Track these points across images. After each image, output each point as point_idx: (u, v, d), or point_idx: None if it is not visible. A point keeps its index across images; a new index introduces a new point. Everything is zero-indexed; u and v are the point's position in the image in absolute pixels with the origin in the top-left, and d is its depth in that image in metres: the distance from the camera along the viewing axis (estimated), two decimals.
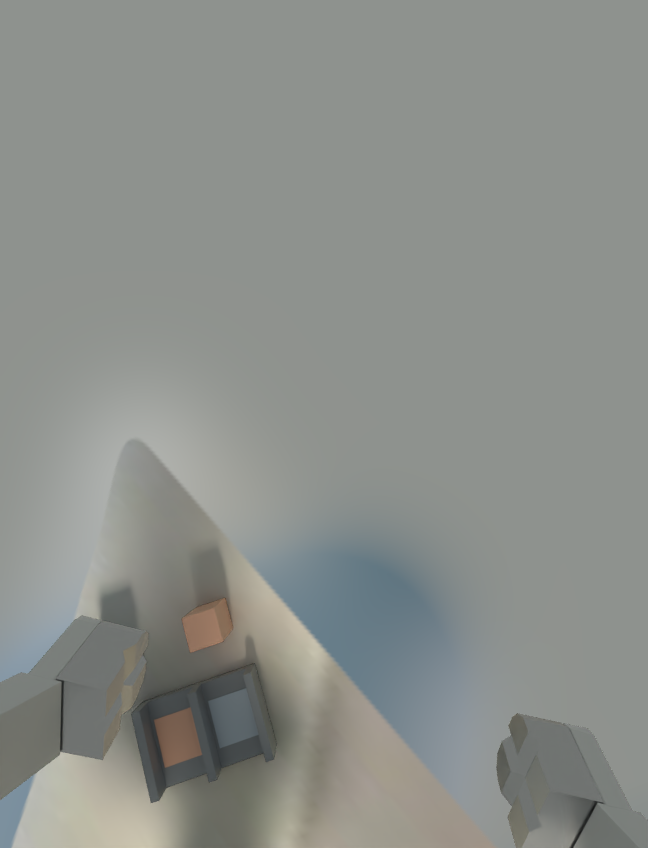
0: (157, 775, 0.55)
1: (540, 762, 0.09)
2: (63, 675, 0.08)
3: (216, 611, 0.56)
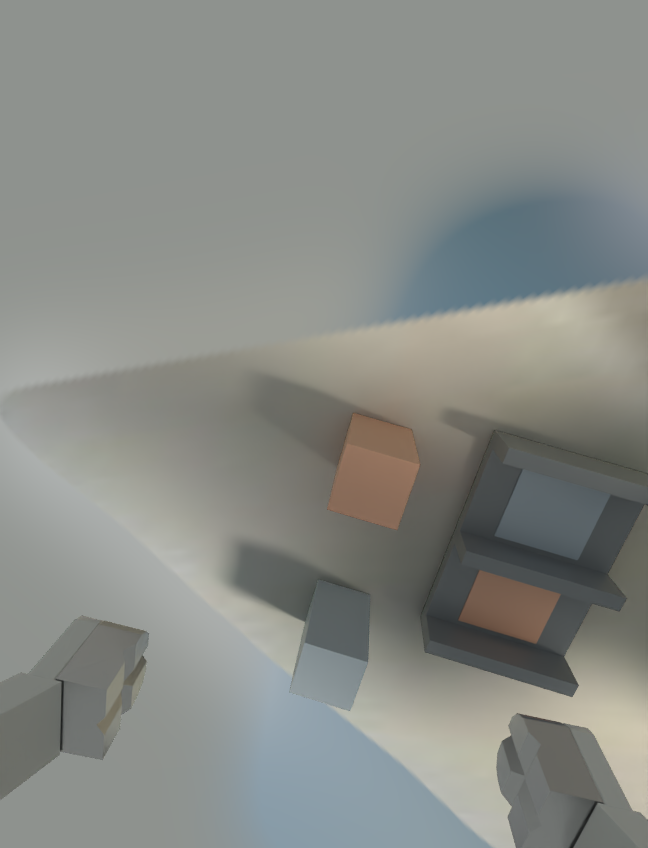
0: (540, 664, 0.31)
1: (540, 761, 0.09)
2: (63, 675, 0.08)
3: (357, 443, 0.25)
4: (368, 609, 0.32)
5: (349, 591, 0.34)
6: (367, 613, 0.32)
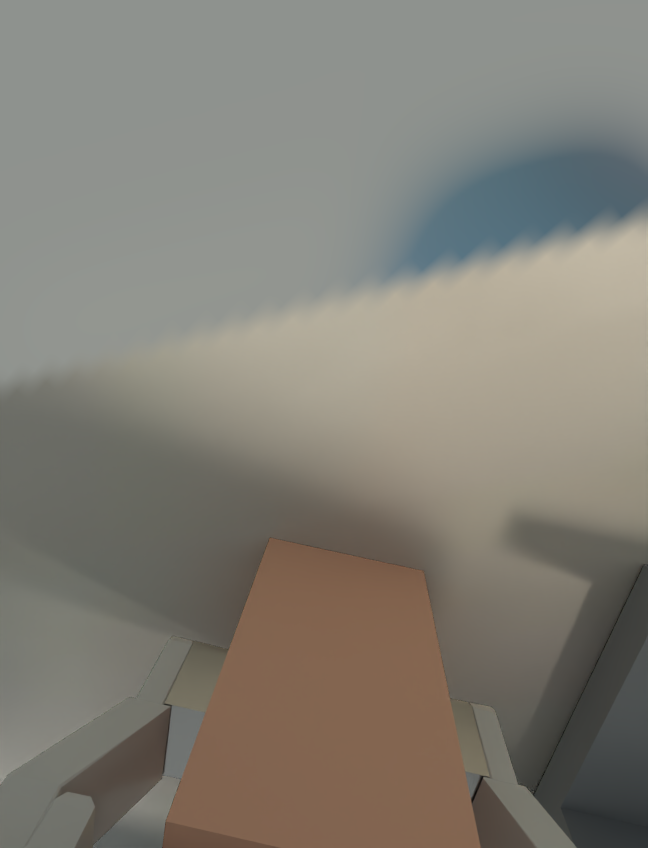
0: None
1: None
2: (171, 699, 0.08)
3: (221, 790, 0.06)
4: None
5: None
6: None
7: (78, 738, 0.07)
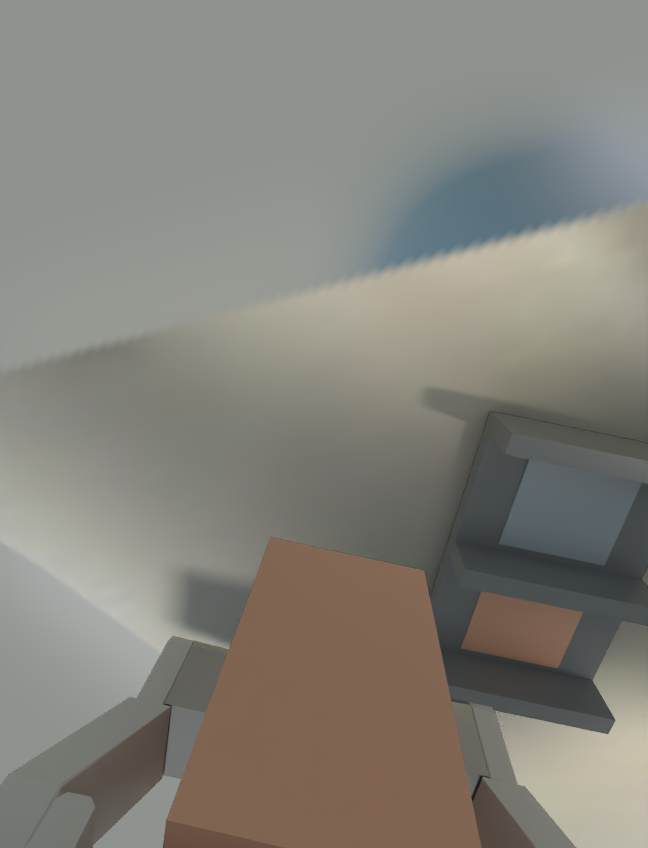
0: (565, 696, 0.25)
1: None
2: (171, 699, 0.08)
3: (222, 789, 0.06)
4: None
5: None
6: None
7: (78, 738, 0.07)
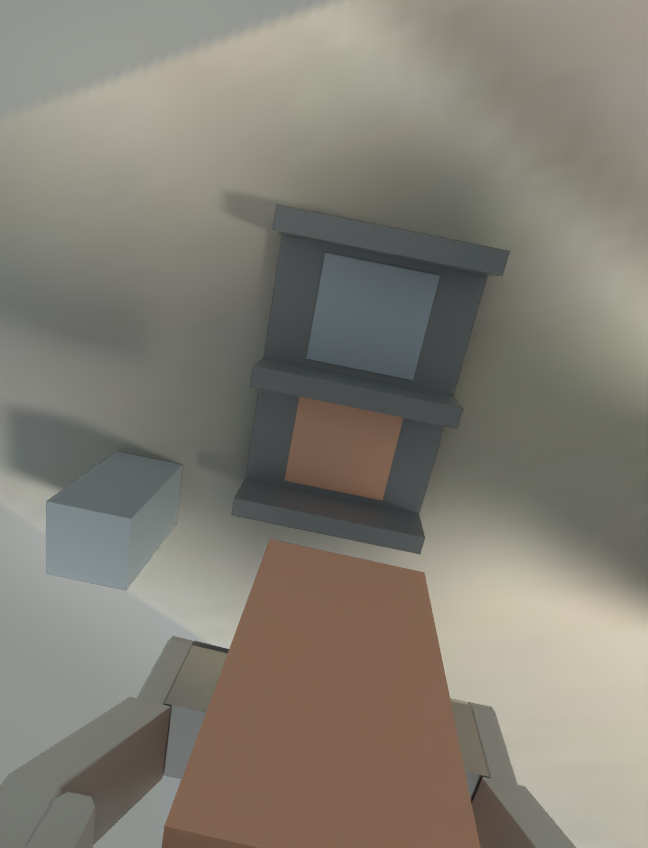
0: (381, 519, 0.24)
1: None
2: (170, 699, 0.08)
3: (221, 795, 0.06)
4: (170, 476, 0.26)
5: (154, 461, 0.27)
6: (165, 479, 0.25)
7: (78, 738, 0.07)
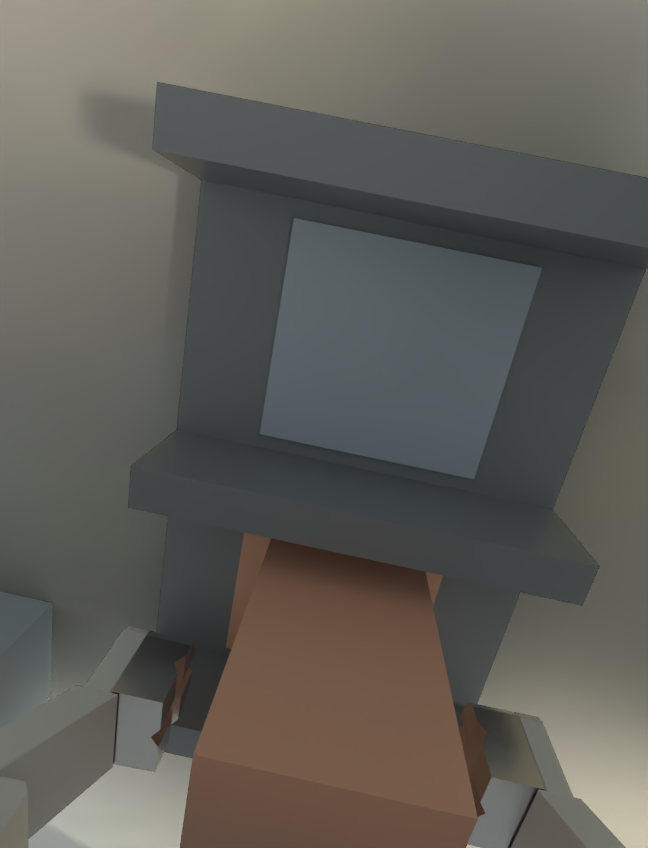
0: None
1: (485, 749, 0.09)
2: (118, 687, 0.08)
3: (241, 731, 0.07)
4: (14, 639, 0.14)
5: (1, 598, 0.15)
6: (0, 650, 0.13)
7: (19, 724, 0.07)
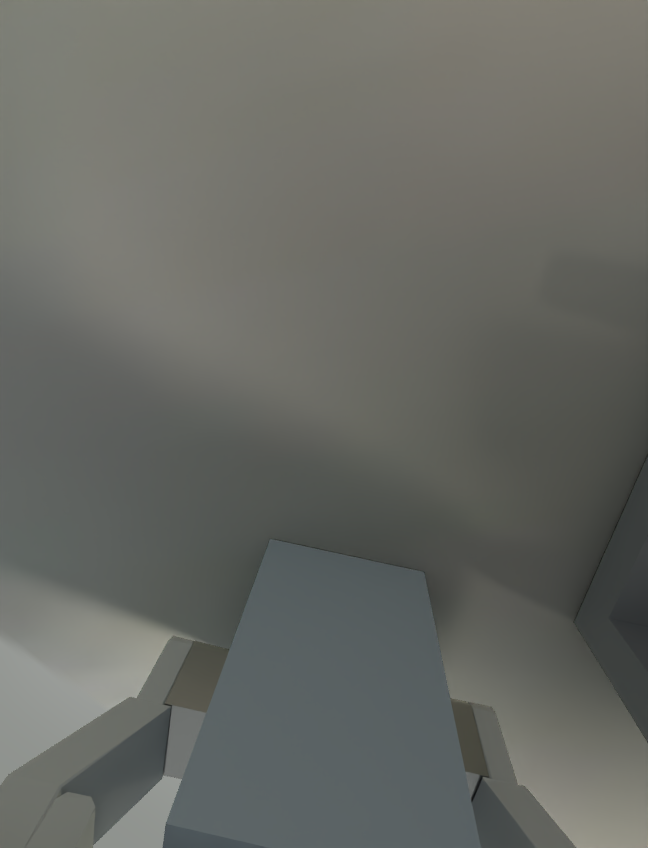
0: None
1: None
2: (170, 699, 0.08)
3: None
4: (429, 617, 0.10)
5: (363, 565, 0.11)
6: (429, 631, 0.10)
7: (78, 738, 0.07)
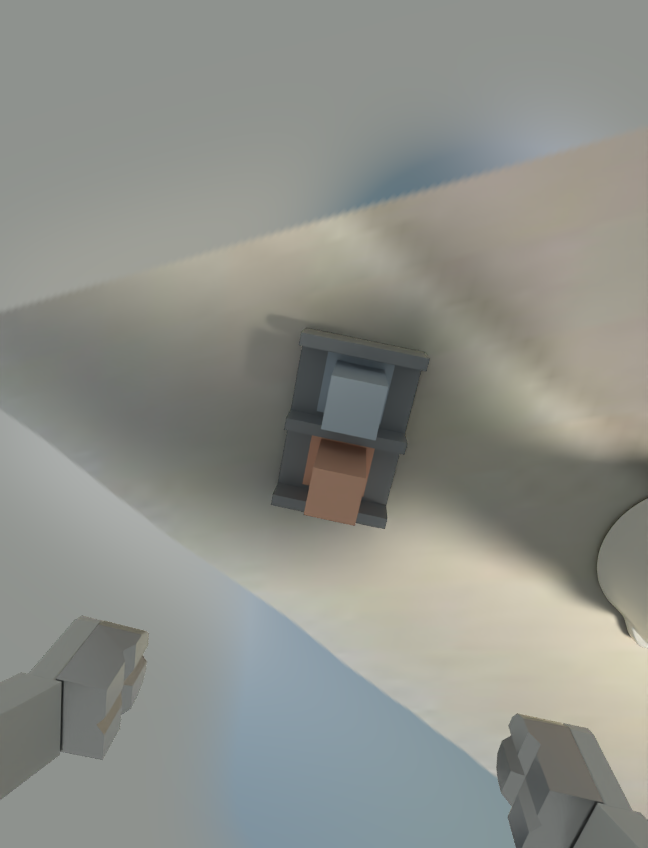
0: (361, 508, 0.40)
1: (540, 761, 0.09)
2: (63, 675, 0.08)
3: (321, 466, 0.34)
4: (384, 373, 0.36)
5: (365, 366, 0.38)
6: (383, 374, 0.36)
7: None
